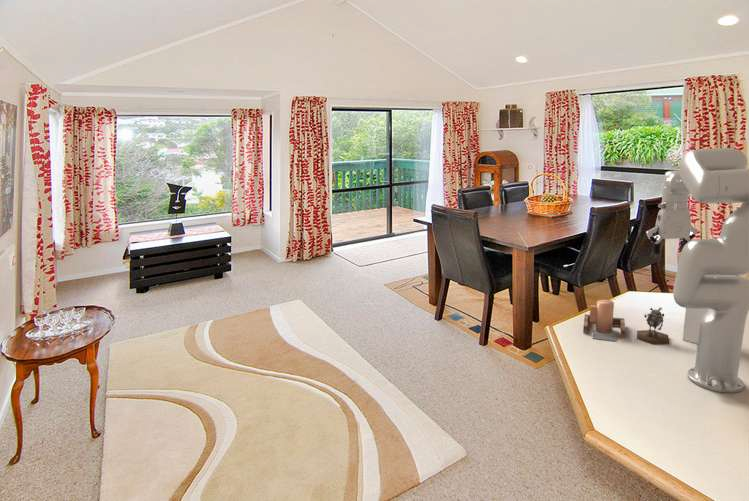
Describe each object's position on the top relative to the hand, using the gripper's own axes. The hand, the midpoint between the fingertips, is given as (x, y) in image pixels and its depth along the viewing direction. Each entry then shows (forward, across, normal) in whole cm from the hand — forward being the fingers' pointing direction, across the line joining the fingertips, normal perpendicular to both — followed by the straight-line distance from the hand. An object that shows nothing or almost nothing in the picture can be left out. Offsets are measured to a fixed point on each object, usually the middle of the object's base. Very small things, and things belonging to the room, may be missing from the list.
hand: (669, 253), depth 154 cm
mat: (+28, -26, -9) cm, 39 cm away
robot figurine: (+28, -10, -11) cm, 32 cm away
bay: (+28, -23, -3) cm, 36 cm away
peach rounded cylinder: (+28, -24, -2) cm, 37 cm away
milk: (+28, +3, -14) cm, 31 cm away
